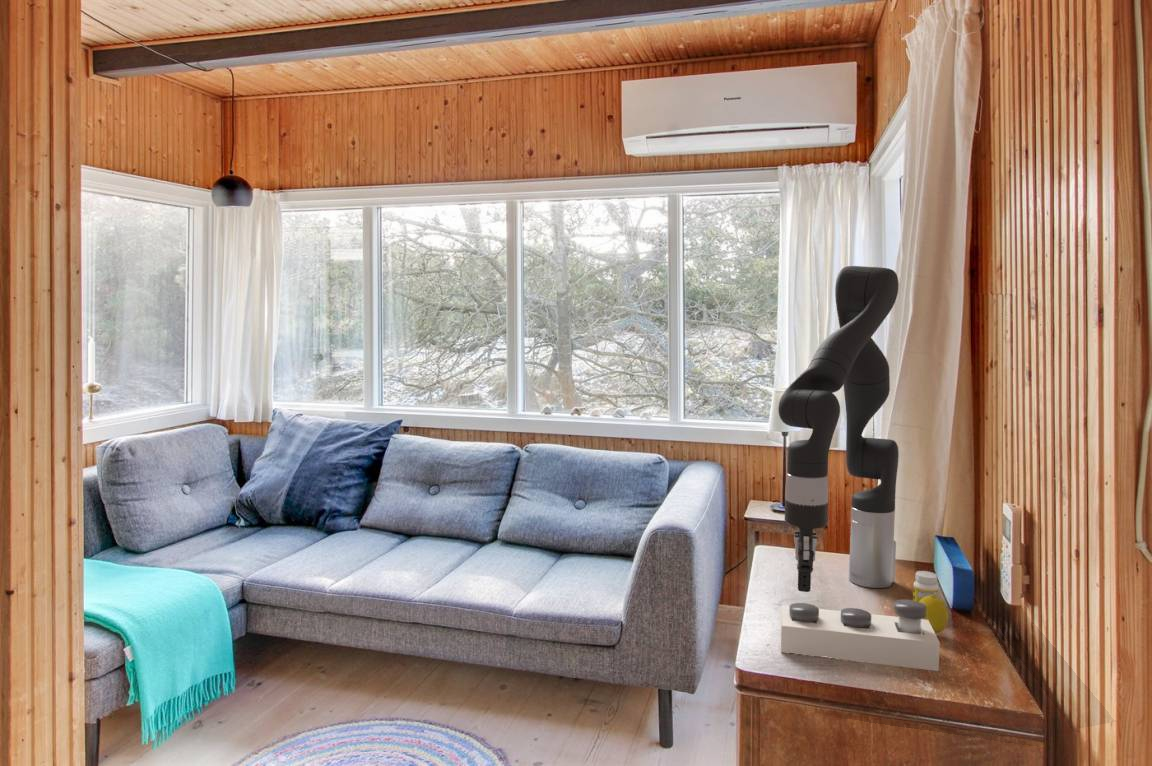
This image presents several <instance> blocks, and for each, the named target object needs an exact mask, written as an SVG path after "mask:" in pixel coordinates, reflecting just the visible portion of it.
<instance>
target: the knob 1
mask: <svg viewBox="0 0 1152 766" xmlns="http://www.w3.org/2000/svg"><path fill="white" fill-rule="evenodd" d="M789 606H790V609H789V615H790V617H791V618H793V619H794V621H799V622H808V623H814V621H817V620H818V619H819V609H820V608H819V607H818V606H815V605H814V604H810V603H806V602H796V603H795V602H794V603H791V604H790V605H789Z"/></svg>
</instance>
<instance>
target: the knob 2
mask: <svg viewBox="0 0 1152 766" xmlns="http://www.w3.org/2000/svg"><path fill="white" fill-rule="evenodd" d="M893 611H894V613H895V615H897V616H898V617H899V622H898V632H903V633H912V634H920V628H921V619H922V618H925V617H926V606H925V605H924V604H922V603H920V602H917V601H913V599H912V600H911V599H905V598H904V599H897V600H894V605H893Z"/></svg>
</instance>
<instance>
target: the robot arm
mask: <svg viewBox="0 0 1152 766" xmlns="http://www.w3.org/2000/svg"><path fill="white" fill-rule="evenodd" d="M899 286H900V285H899V277H898V274H897V273H896V271H894V270H893V269H892V268H887V267H881V266H880V267H878V266H861V265H859V266H857V265H847V266H844V267H842V268H841V269H840V270H839V272H838V273H837V276H836V280H835V287H834V289H835V291H834V292H835V304H836V313H837V317H838V319H837V320H838V325H839V328H838V329H837V330H835V331H833V332H832V333H831V334H830V335H828V336H827V337H826V338H825V339H824V340H822V342H821V343H820V345H818V348H817V350H816V351H815V353H814V355H813V357H812V359H811V361H810V363H809V365H808V366H807V368H806V369H805V370H804V371H803V372H802V373H801V374H799V376H798V377H796V379H795V380H794V381H793V382H792V383H790V385H789V386H787V388H786V389H785V390H784V392H783V393H782V395H781V396H780V399H779V402H778V407H777V408H778V410H777V411H778V416H779V419H780V420H781V421H782V423H784V425H786V426H789V427H792V428H793V427H794V428H801V429H812V430H811V431H812V432H811V435H810V436H809V439H802V440H801V439H799V440H795V441H792V442H790V444H788V447H787V448H788V449H787V465H786V467H787V468H786V469H787V470H786V472H787V473H786V478H785V479H786V480H785V489H784V490H785V491H784V493H785V494H784V495H785V496H784V522H785V523H786V524H788V525H789V526H792V527H797V528H798V529H797V530H793V531H794V532H793V542H794V543H793V544H794V545H795V547H794V554H795V555H794V557H795V560H797V563H796V570H797V590H798V591H799V592H803V593H804V592H805V593H809V592H811V585H812V583H811V581H812V573H813V571H814V566H813V565H814V562H815V561H816V547H818V536H817V532H815V531H814V530H815V529H821V528H822V529H823V528H824V527H826V526H827V525H828V522H829V521H828V519H829V513H828V512H829V481H828V476H829V475H828V470H829V452H830V449H831V448H830V447H831V445H832V444H831V443H832V442H833V441H832V440H833V436H834V434H835V431H836V428H837V425H838V422H839V418H840V414H841V406H840V405H841V404H840V401H839V399H838V398H837V396H836V395H835V393H836V392H838V391H839V390H840V389H842V388H843V393H844V395H843V396H844V404H845V414H846V415H845V416H846V417H845V418H846V432H845V433H846V436H845V437H846V439H845V441H846V443H845V461H846V464H845V465H846V470H847V472H848V473H849V474H850V475H851V476H853V477H855V478H863V479H869V480H870V479H873V480H880V483H879V484H878V485H877V486H874V487H872V488H870V489H865V490H861V491H860V490H859V491H857V492H854V493H853V495H852V497H851V509H850V511H851V512H850V539H849V542H850V543H849V564H848V565H849V568H848V573H849V574H848V580H849V581H850V582H852V584H855V585H857V586H860V587H861V586H862V587H865V588H873V589H884V588H889V587H891V586H892V585H893V583H895V580H896V579H895V578H896V554H897V553H896V552H897V542H896V541H895V523H896V522H895V519H896V518H895V517H896V516H895V515H896V488H897V477H898V468H899V456H900V455H899V446H898V443H897V442H896V441H895V440H893V439H888V438H887V439H886V438H878V437H876V438H875V437H865V436H863V433H864V431H865V428H866V427H867V425H868V424H869V422H870V421H871V419H872V418H873V417H874V416H875V415H876V413H877V412H878V411H879V410H880V408H882V407H883V405H884V404H885V403H886V401H887V399H888V397H889V396H890V390H891V389H890V387H891V386H890V385H891V384H890V382H891V381H890V380H891V379H890V364H889V362H888V360H887V357H886V356H885V354H884V353H883V352H882V349H880V347H879V346H878V344H877V343H876V342H875V340H874V339H873V335H874V334H875V333H876V332H877V330H878V329H879V328H880V327H881V325H882V324H883V321H884V320H886V318H887V316H888V315H889V314H890V312H891V311H892V309H893V307H894V305H895V303H896V300H897V298H898V294H899Z"/></svg>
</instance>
